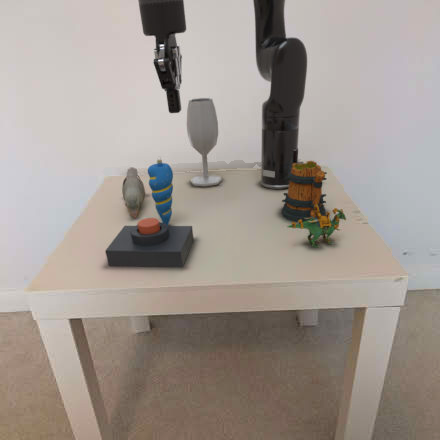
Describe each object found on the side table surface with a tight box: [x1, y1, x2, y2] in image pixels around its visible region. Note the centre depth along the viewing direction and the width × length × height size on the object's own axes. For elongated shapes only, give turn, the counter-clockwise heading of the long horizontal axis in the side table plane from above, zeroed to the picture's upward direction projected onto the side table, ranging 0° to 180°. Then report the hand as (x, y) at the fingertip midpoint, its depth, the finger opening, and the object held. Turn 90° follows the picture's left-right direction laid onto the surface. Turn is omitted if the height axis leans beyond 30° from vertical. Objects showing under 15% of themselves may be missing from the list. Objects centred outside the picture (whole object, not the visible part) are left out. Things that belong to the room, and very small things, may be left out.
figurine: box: [286, 204, 347, 248], centre depth 74 cm, size 3×12×8 cm, turn 105°
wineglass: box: [186, 97, 222, 187], centre depth 105 cm, size 9×9×21 cm
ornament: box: [147, 156, 174, 226], centre depth 83 cm, size 5×5×15 cm
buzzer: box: [104, 221, 194, 268], centre depth 76 cm, size 14×11×5 cm
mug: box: [281, 160, 328, 223], centre depth 85 cm, size 13×10×12 cm
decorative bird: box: [121, 166, 146, 219], centre depth 96 cm, size 5×16×8 cm, turn 9°
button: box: [136, 217, 160, 234], centre depth 74 cm, size 4×4×2 cm
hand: (175, 112), depth 76 cm, fingers closed
